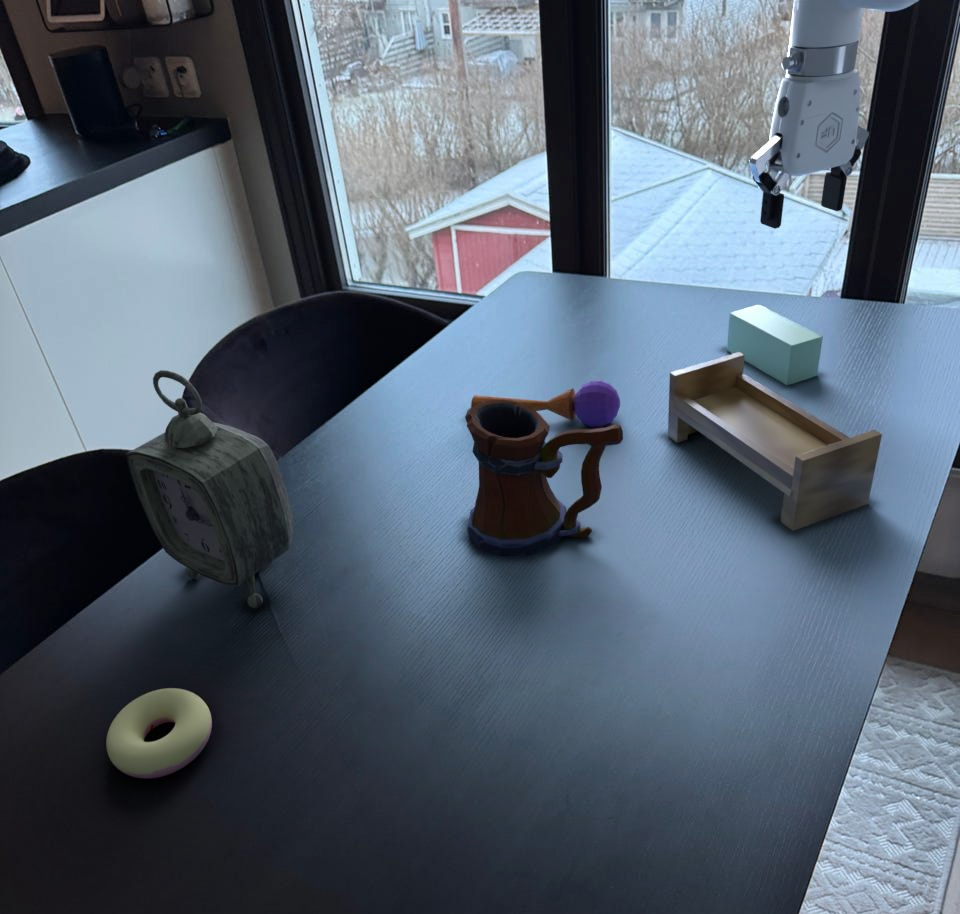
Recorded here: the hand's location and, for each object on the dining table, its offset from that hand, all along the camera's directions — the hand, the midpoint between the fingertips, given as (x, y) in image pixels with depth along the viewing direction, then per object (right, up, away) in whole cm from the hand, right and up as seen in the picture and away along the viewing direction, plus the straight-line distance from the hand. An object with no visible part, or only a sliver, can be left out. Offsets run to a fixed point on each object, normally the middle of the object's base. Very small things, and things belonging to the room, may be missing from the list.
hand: (800, 217), depth 116 cm
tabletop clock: (-68, -47, -13) cm, 84 cm away
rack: (-7, -34, -7) cm, 35 cm away
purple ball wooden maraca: (-32, -25, +8) cm, 41 cm away
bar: (0, -15, +13) cm, 20 cm away
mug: (-34, -42, -13) cm, 55 cm away
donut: (-70, -64, -32) cm, 100 cm away
